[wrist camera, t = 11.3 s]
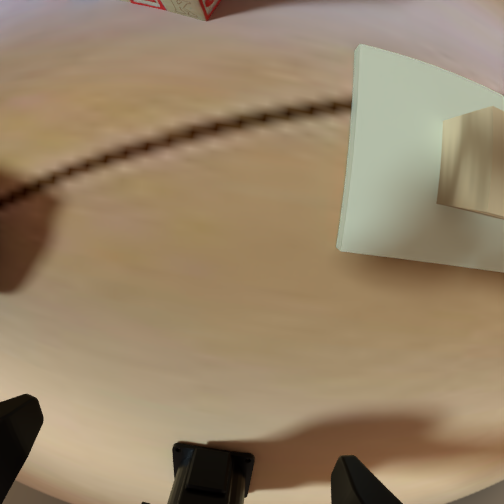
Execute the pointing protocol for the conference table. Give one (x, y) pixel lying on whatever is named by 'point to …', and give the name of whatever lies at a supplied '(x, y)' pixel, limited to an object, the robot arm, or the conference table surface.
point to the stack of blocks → (183, 7)
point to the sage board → (410, 165)
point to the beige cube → (473, 163)
